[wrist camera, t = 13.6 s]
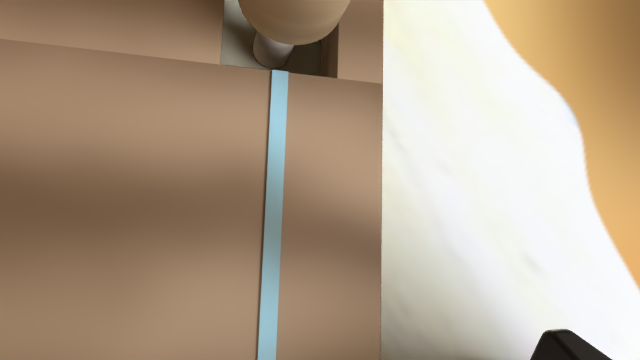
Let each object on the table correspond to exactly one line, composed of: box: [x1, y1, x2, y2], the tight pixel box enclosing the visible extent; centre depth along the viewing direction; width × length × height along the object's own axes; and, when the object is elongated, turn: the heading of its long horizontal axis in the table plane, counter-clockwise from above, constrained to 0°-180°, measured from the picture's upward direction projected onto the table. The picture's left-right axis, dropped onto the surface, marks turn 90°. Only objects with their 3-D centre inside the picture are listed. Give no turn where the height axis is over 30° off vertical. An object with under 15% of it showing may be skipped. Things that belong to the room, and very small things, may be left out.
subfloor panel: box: [0, 0, 383, 360], centre depth 21 cm, size 18×20×3 cm
